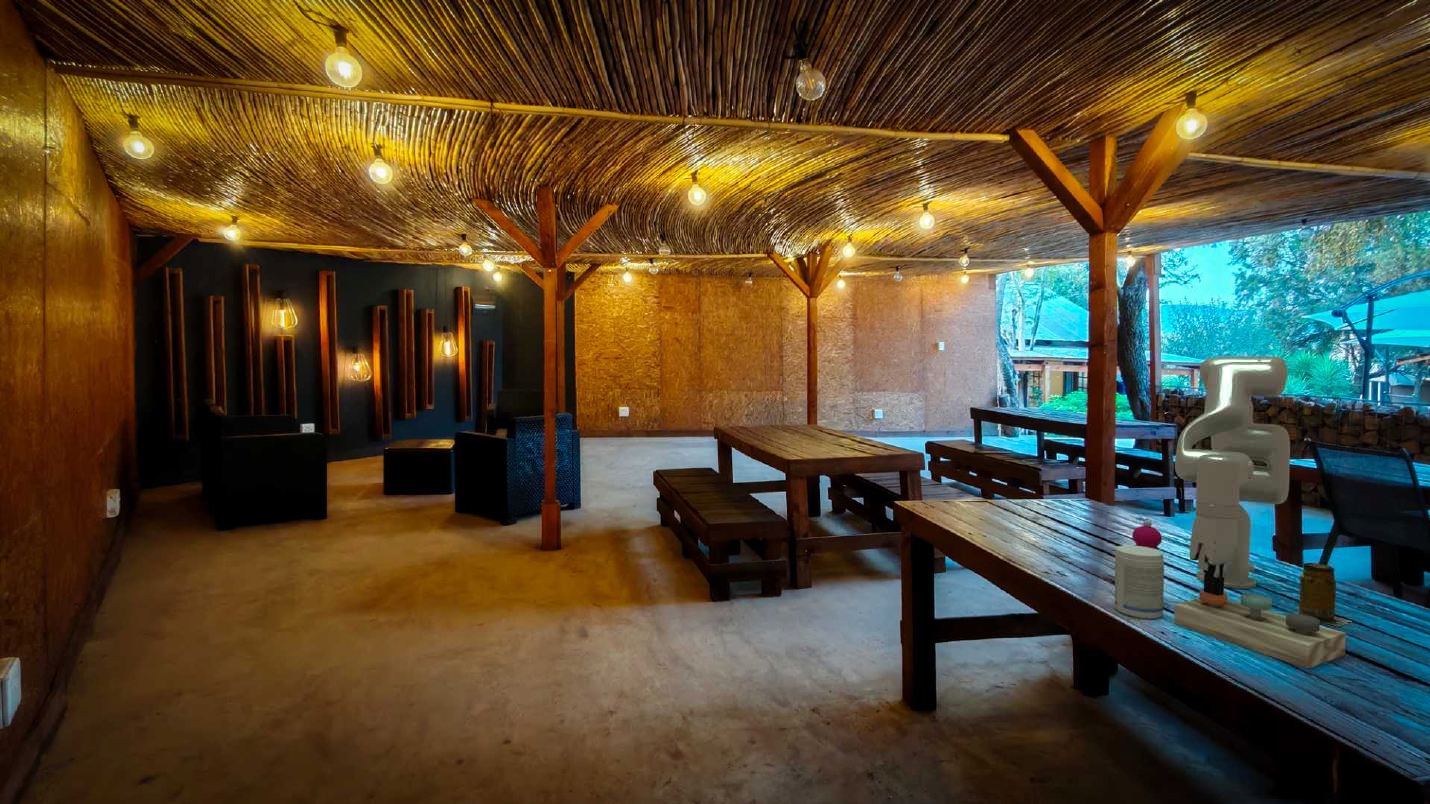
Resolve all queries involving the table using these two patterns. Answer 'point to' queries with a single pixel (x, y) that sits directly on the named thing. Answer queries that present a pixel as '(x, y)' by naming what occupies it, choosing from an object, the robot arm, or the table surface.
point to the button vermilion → (1213, 599)
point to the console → (1261, 632)
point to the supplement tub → (1139, 581)
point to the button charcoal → (1302, 623)
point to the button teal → (1256, 604)
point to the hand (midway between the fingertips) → (1213, 593)
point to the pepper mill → (1147, 536)
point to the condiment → (1319, 593)
